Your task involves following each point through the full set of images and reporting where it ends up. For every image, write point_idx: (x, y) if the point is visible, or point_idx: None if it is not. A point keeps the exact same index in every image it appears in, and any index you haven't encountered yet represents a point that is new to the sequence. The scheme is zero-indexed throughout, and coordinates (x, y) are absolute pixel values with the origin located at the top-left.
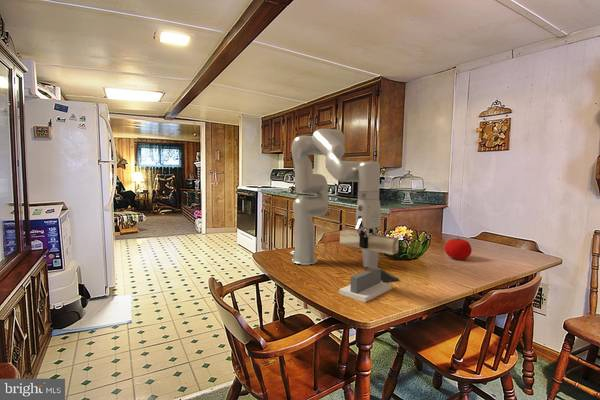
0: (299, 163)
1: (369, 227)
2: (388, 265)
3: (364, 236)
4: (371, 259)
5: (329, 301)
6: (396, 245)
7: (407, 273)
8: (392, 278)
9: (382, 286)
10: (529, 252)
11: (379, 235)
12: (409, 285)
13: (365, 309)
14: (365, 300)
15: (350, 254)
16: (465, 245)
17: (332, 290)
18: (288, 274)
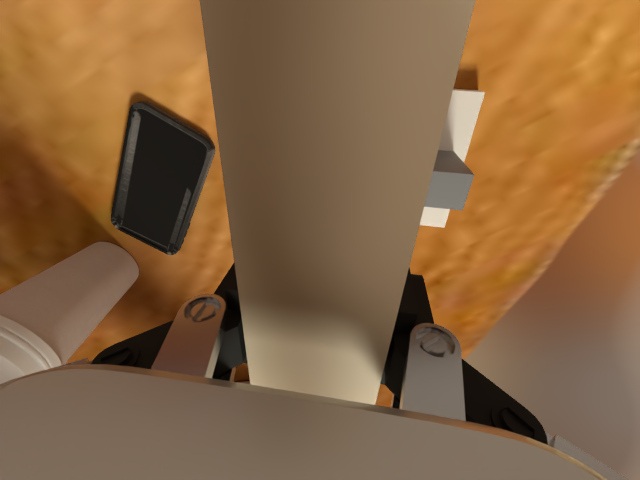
0: None
1: (516, 463)
2: (43, 218)
3: (453, 346)
4: (102, 271)
5: (539, 207)
6: None
7: (34, 114)
8: (152, 130)
9: None
10: None
11: (253, 226)
12: (144, 26)
13: (562, 43)
14: (478, 90)
15: (89, 350)
16: None
17: (425, 249)
18: (379, 391)
